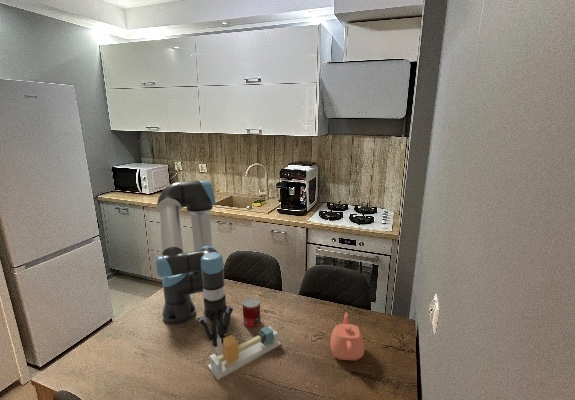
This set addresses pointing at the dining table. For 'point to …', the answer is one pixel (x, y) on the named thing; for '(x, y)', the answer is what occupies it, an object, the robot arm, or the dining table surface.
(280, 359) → the dining table surface
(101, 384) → the dining table surface
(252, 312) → the canned food
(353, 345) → the teapot
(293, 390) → the dining table surface
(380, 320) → the dining table surface
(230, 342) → the orange slider block
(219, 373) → the linear slide rail
